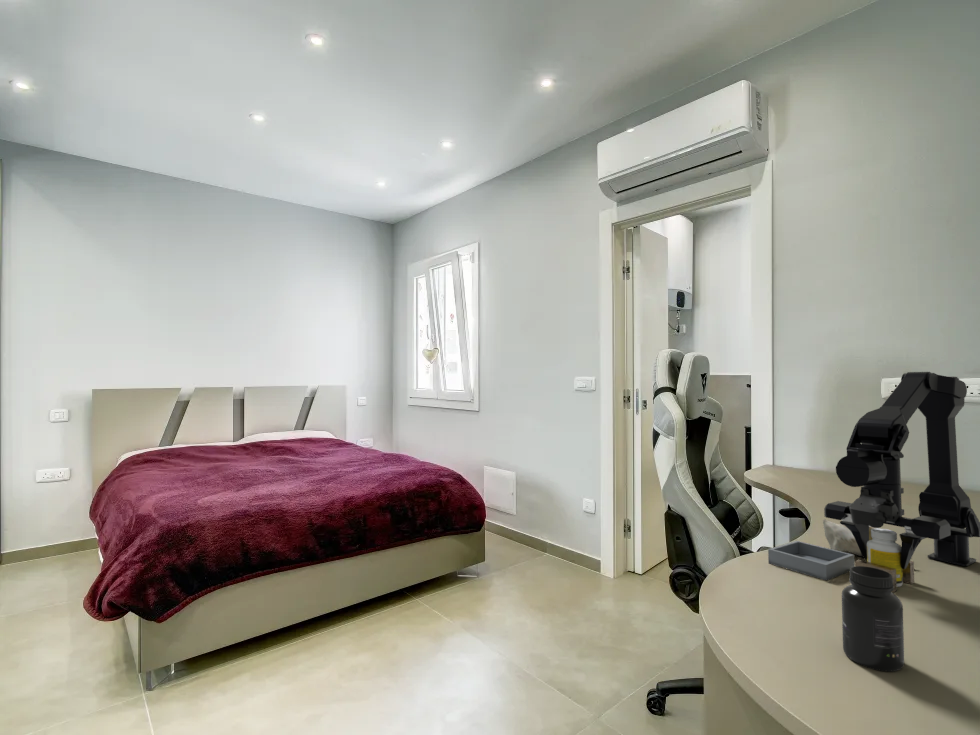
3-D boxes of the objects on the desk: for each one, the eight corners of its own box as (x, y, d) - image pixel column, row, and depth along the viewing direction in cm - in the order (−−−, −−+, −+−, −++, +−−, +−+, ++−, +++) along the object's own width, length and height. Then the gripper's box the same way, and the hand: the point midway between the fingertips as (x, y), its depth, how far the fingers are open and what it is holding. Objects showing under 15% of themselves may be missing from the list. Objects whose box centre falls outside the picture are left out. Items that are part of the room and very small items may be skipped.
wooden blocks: (877, 572, 103) (877, 552, 103) (914, 582, 98) (913, 561, 98) (855, 582, 98) (855, 561, 98) (892, 592, 93) (892, 570, 93)
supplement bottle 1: (909, 588, 95) (907, 535, 95) (876, 586, 96) (875, 534, 96) (892, 578, 100) (891, 527, 100) (861, 576, 101) (860, 526, 102)
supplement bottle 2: (831, 648, 73) (828, 563, 74) (875, 645, 74) (872, 562, 74) (870, 674, 67) (867, 581, 67) (918, 672, 67) (915, 580, 68)
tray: (797, 554, 114) (796, 540, 115) (854, 569, 105) (854, 554, 105) (768, 563, 109) (768, 549, 109) (826, 580, 99) (826, 564, 99)
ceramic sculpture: (821, 507, 122) (901, 519, 114) (820, 543, 122) (899, 557, 114) (824, 517, 113) (911, 531, 105) (822, 556, 113) (909, 573, 105)
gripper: (809, 478, 102) (811, 557, 102) (925, 495, 87) (928, 588, 86) (836, 473, 108) (838, 548, 108) (950, 488, 92) (953, 575, 92)
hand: (884, 563), depth 98 cm, fingers open, 6 cm apart
